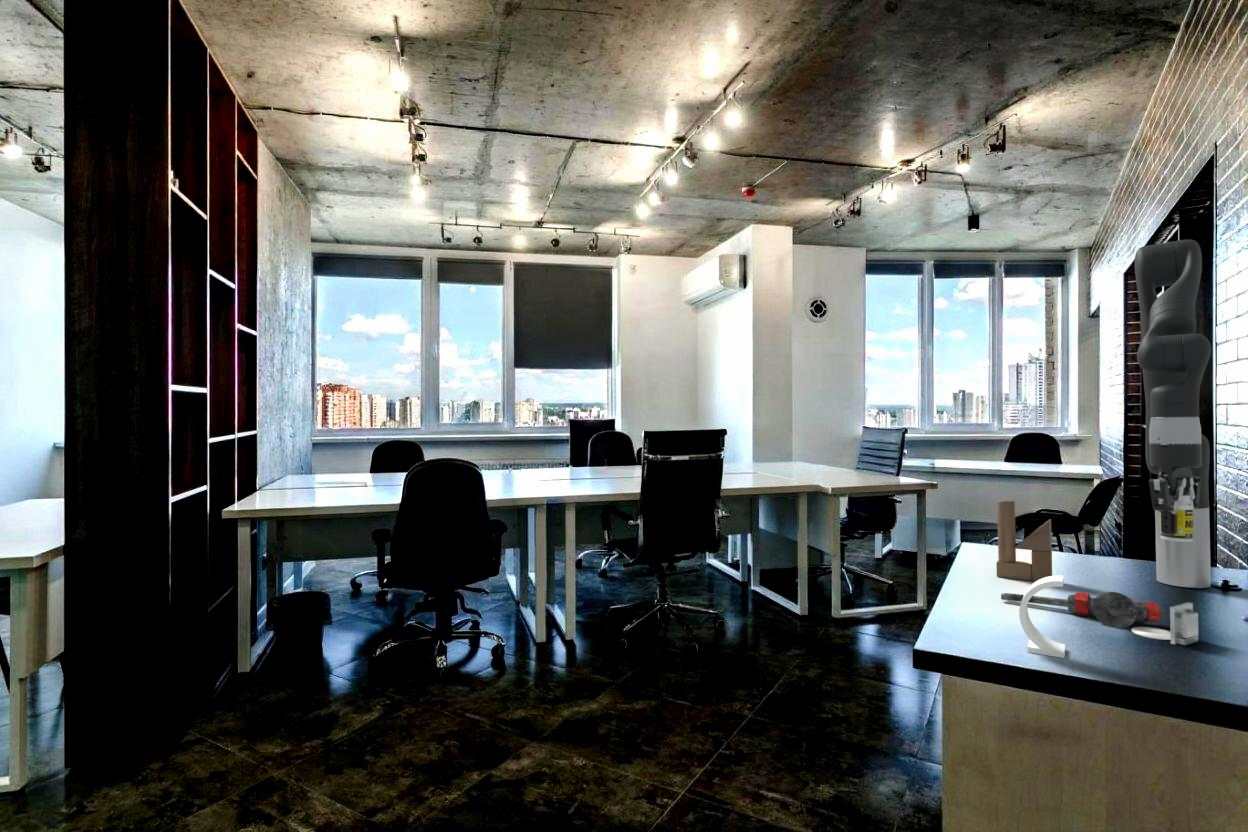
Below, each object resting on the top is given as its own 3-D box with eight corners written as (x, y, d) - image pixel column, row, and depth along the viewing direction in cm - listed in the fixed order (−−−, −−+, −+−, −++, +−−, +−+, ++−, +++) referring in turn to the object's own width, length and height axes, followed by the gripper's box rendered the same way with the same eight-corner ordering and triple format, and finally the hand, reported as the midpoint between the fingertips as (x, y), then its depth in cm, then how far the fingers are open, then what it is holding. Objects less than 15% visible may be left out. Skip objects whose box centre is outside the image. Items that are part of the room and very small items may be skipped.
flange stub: (1189, 637, 112) (1188, 602, 112) (1202, 640, 111) (1201, 604, 111) (1170, 643, 110) (1169, 607, 110) (1183, 646, 108) (1182, 609, 108)
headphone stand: (1064, 658, 104) (1062, 581, 104) (1019, 650, 107) (1018, 576, 107) (1065, 649, 108) (1063, 575, 108) (1022, 642, 111) (1020, 571, 111)
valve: (1172, 628, 124) (1161, 634, 114) (1017, 608, 142) (995, 612, 132) (1170, 593, 125) (1159, 596, 115) (1016, 578, 143) (994, 580, 133)
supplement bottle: (1190, 543, 120) (1190, 496, 120) (1157, 539, 124) (1157, 494, 124) (1195, 540, 123) (1194, 494, 123) (1163, 536, 127) (1162, 493, 127)
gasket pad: (1142, 626, 118) (1142, 624, 118) (1183, 636, 113) (1183, 634, 113) (1124, 631, 116) (1124, 630, 116) (1164, 641, 110) (1164, 640, 110)
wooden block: (1050, 583, 149) (1048, 503, 149) (996, 577, 156) (994, 500, 156) (1052, 580, 152) (1051, 502, 152) (999, 574, 159) (998, 499, 159)
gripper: (1170, 440, 130) (1172, 527, 130) (1131, 441, 124) (1132, 533, 124) (1218, 441, 124) (1220, 532, 123) (1179, 442, 117) (1181, 539, 117)
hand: (1176, 532), depth 123 cm, fingers closed on supplement bottle, 4 cm apart
